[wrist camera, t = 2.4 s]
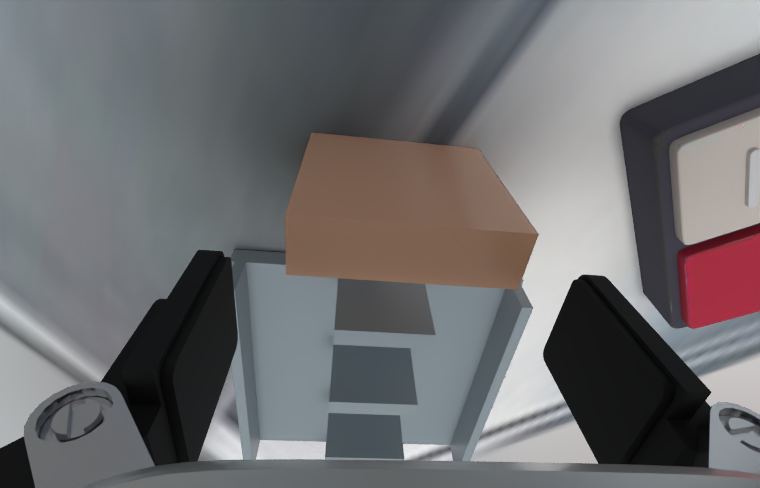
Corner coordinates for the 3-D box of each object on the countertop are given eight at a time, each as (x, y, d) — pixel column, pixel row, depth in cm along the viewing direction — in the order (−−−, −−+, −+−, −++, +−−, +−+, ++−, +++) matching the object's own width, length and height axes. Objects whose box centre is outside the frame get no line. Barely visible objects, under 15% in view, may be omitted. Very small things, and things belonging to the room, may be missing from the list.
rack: (234, 249, 19) (200, 323, 15) (516, 268, 21) (556, 341, 17) (251, 425, 27) (231, 507, 23) (458, 431, 28) (475, 510, 24)
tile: (311, 132, 17) (284, 214, 11) (478, 148, 17) (538, 234, 11) (310, 177, 18) (285, 275, 12) (467, 191, 18) (517, 289, 12)
